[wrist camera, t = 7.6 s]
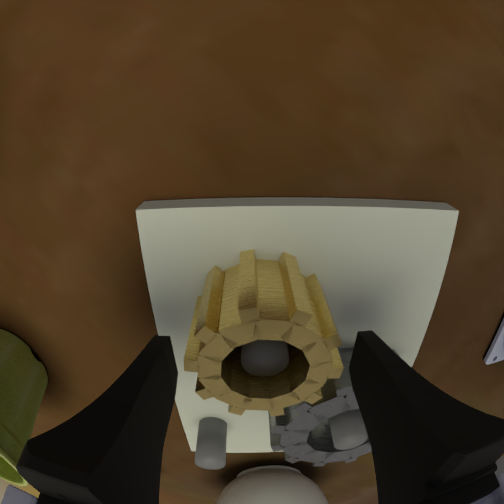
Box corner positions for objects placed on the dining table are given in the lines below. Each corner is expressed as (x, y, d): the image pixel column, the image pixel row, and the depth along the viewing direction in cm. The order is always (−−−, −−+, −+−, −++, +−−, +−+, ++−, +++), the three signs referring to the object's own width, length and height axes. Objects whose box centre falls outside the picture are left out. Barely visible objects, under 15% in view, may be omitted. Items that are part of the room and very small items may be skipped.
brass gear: (334, 256, 13) (364, 312, 9) (309, 353, 15) (322, 416, 12) (199, 244, 13) (181, 300, 9) (197, 346, 15) (186, 410, 11)
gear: (419, 333, 15) (442, 370, 12) (382, 420, 19) (393, 453, 16) (270, 345, 15) (274, 392, 12) (266, 432, 19) (268, 470, 16)
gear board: (445, 202, 13) (507, 243, 9) (373, 428, 21) (387, 477, 17) (144, 201, 13) (99, 247, 9) (192, 438, 21) (186, 491, 16)
